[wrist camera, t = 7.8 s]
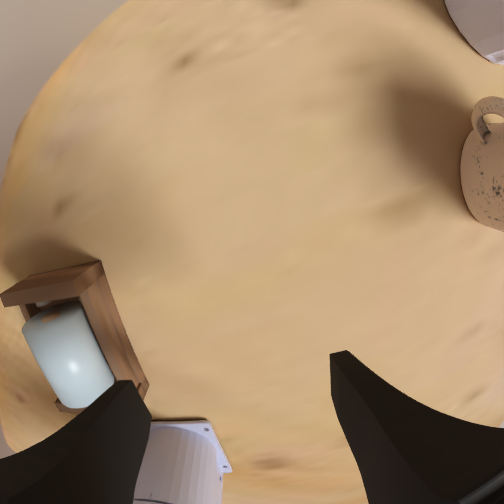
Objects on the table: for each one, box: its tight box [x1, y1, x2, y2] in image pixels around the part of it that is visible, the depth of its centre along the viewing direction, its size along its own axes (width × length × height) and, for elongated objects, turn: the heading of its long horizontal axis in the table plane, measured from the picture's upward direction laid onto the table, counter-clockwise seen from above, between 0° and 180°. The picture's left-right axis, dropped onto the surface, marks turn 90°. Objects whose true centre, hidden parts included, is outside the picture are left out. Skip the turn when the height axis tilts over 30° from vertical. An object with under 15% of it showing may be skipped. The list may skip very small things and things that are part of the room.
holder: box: [0, 260, 149, 414], centre depth 18 cm, size 11×8×4 cm
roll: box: [22, 302, 114, 408], centre depth 16 cm, size 6×5×5 cm
